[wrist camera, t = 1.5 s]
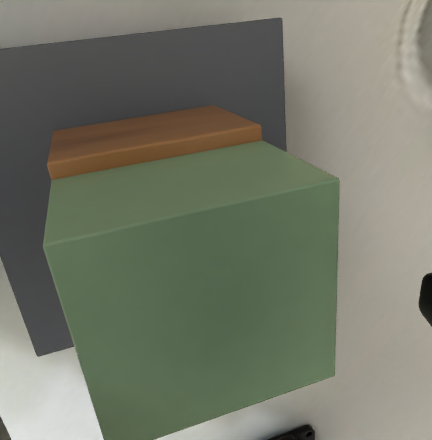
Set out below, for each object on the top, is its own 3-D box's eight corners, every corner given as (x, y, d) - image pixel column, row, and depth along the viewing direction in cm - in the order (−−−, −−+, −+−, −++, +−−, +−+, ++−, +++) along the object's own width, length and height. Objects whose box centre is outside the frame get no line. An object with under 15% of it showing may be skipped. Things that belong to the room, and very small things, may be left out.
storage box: (258, 250, 24) (291, 285, 21) (42, 305, 21) (37, 357, 18) (243, 21, 19) (283, 17, 16) (-44, 54, 16) (-75, 57, 13)
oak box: (229, 251, 19) (272, 306, 15) (93, 285, 17) (101, 357, 13) (214, 104, 16) (262, 124, 12) (52, 130, 15) (46, 163, 11)
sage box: (271, 296, 15) (335, 376, 11) (98, 346, 13) (108, 456, 10) (262, 139, 12) (340, 178, 9) (50, 179, 11) (41, 245, 7)
